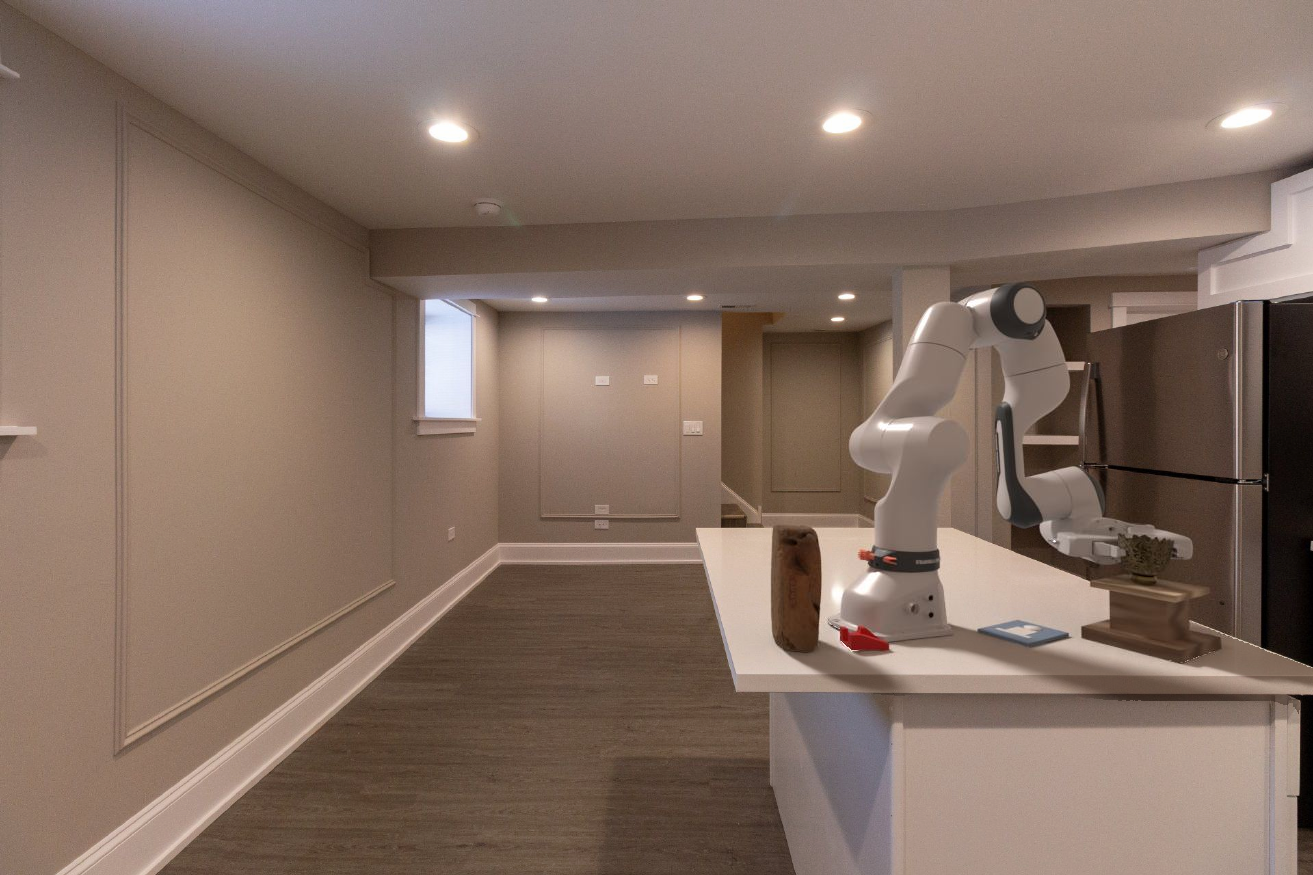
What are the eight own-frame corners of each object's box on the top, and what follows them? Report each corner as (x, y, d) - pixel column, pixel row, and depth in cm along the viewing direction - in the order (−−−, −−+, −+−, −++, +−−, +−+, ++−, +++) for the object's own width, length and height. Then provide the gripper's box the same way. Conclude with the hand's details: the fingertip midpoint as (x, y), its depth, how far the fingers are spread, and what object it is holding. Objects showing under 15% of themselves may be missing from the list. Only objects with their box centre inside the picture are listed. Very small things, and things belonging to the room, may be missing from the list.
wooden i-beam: (1180, 663, 92) (1179, 598, 92) (1081, 637, 104) (1080, 580, 104) (1221, 648, 98) (1220, 588, 98) (1122, 626, 111) (1122, 572, 111)
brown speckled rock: (769, 633, 107) (768, 522, 107) (811, 634, 107) (810, 522, 107) (779, 654, 96) (778, 530, 96) (826, 655, 96) (825, 530, 96)
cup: (1150, 579, 105) (1153, 534, 105) (1183, 590, 98) (1185, 541, 98) (1105, 576, 106) (1107, 531, 106) (1134, 586, 98) (1136, 538, 98)
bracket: (851, 653, 98) (851, 635, 98) (839, 644, 102) (839, 626, 102) (889, 652, 98) (889, 634, 98) (876, 642, 103) (875, 625, 103)
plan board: (1028, 647, 99) (1028, 642, 100) (977, 632, 107) (977, 628, 107) (1068, 636, 105) (1068, 632, 105) (1017, 622, 113) (1017, 619, 113)
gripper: (1042, 522, 116) (1084, 533, 102) (1158, 524, 113) (1217, 535, 99) (1043, 555, 116) (1085, 570, 102) (1158, 557, 113) (1217, 573, 99)
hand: (1151, 553), depth 101 cm, fingers open, 8 cm apart
